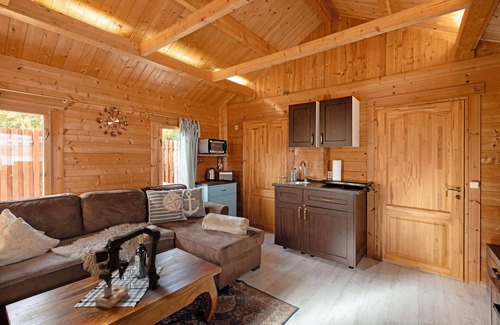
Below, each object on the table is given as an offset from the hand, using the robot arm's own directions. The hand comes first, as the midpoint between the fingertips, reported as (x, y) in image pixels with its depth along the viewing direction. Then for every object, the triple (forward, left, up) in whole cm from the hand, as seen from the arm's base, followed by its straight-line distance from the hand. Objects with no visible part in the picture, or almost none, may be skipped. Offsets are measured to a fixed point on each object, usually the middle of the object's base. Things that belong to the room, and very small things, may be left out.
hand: (115, 283), depth 149 cm
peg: (+3, -3, -11) cm, 11 cm away
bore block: (-1, -3, -12) cm, 12 cm away
